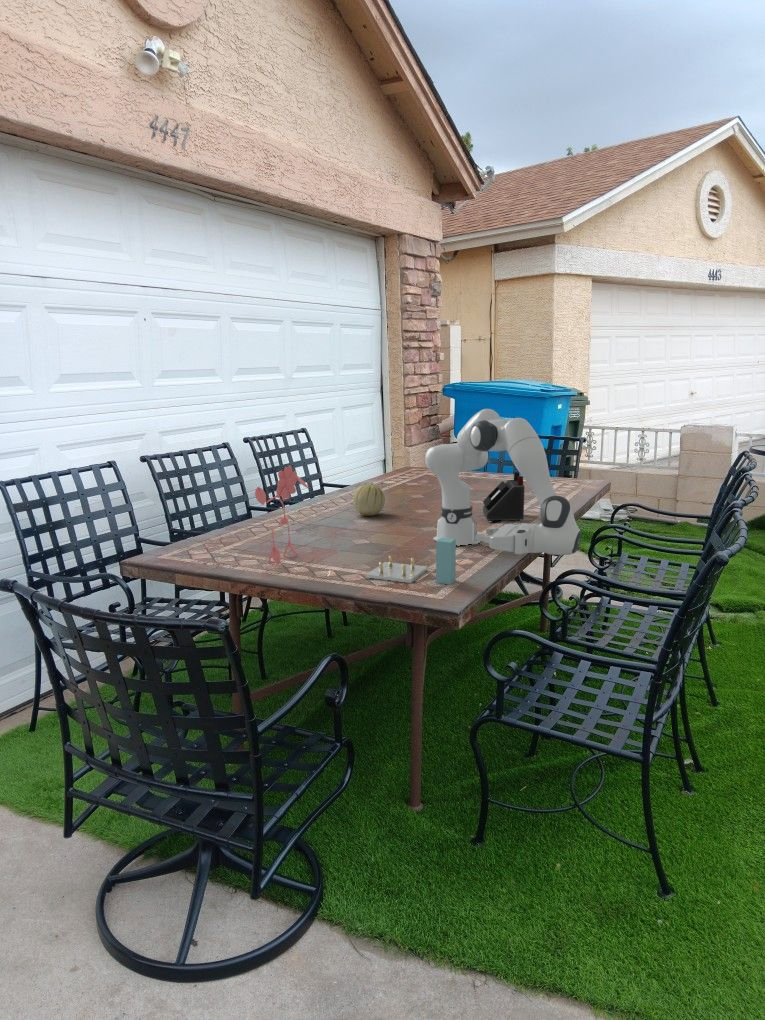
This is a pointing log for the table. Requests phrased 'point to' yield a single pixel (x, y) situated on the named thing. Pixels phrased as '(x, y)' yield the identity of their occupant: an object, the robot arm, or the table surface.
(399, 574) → the post plate
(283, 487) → the figurine
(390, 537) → the table surface
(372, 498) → the cantaloupe
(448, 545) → the teal block
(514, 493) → the voltmeter
